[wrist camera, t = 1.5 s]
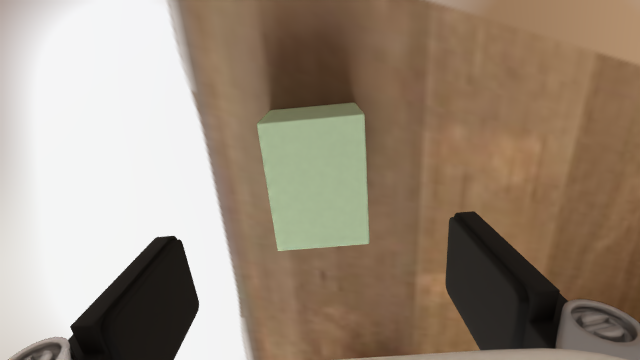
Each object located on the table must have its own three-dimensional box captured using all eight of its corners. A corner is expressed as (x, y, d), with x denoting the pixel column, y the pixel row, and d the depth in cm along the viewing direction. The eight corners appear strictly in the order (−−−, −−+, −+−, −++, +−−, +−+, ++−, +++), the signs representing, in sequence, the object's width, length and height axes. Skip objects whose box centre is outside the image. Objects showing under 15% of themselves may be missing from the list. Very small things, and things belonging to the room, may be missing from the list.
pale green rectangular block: (269, 110, 18) (256, 123, 14) (355, 102, 18) (364, 113, 14) (285, 216, 20) (277, 251, 17) (360, 210, 20) (369, 244, 17)
